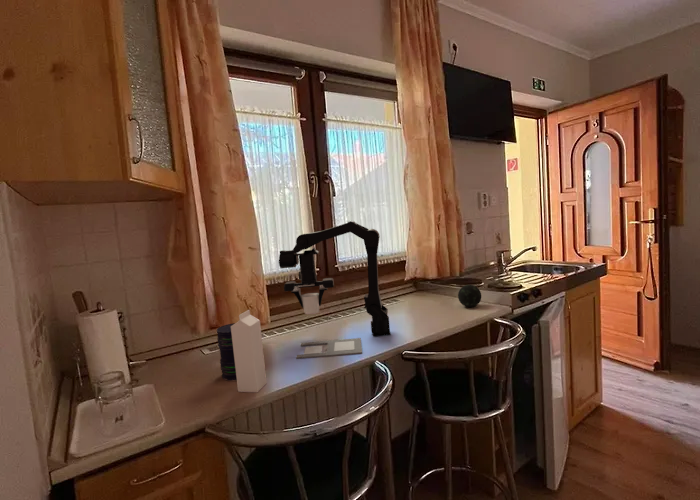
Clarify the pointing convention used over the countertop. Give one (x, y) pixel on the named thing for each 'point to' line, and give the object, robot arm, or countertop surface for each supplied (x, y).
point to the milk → (248, 353)
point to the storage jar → (226, 352)
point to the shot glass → (310, 303)
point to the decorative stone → (469, 295)
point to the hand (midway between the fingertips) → (311, 306)
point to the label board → (332, 348)
